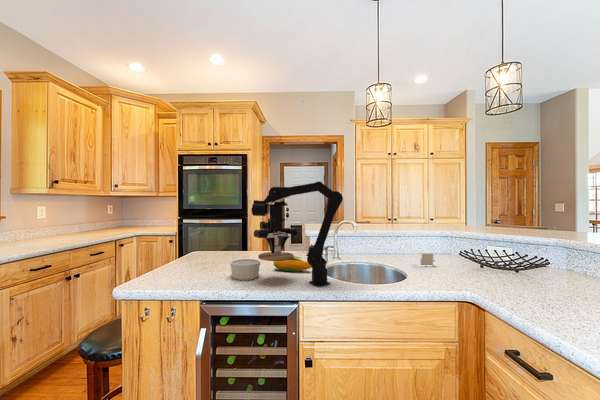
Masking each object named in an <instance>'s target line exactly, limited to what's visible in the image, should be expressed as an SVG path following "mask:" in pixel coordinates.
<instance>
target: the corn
mask: <svg viewBox="0 0 600 400" xmlns="http://www.w3.org/2000/svg"><path fill="white" fill-rule="evenodd" d="M273 266H274V267H275V268H276V269H277V270H279V271H282V272H291V273H292V272H293V273H296V272H297V273H298V272H299V271H304V270H305V271H306V270H310V269H312V267H311V265H309V263H308V262H307V260H303V259H301V257H300V256H295V255H294V258H292V259H290V260H285V261H273Z"/></svg>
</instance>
